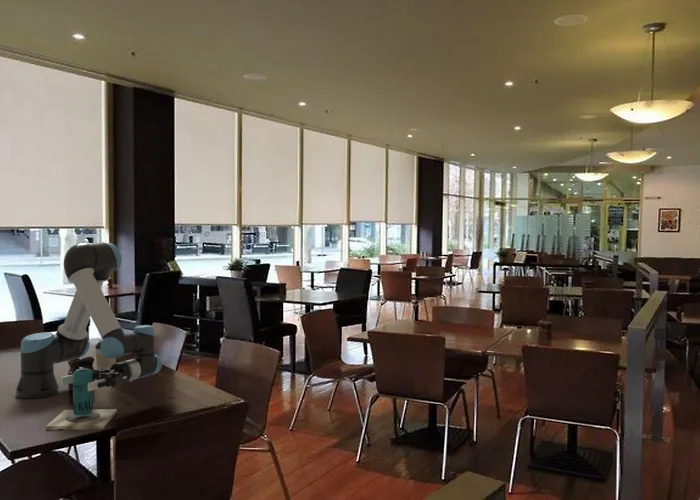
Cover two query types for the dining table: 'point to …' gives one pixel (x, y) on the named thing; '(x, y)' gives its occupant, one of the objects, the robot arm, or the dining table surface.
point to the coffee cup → (103, 359)
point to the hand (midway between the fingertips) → (74, 384)
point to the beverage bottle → (82, 389)
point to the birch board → (82, 420)
